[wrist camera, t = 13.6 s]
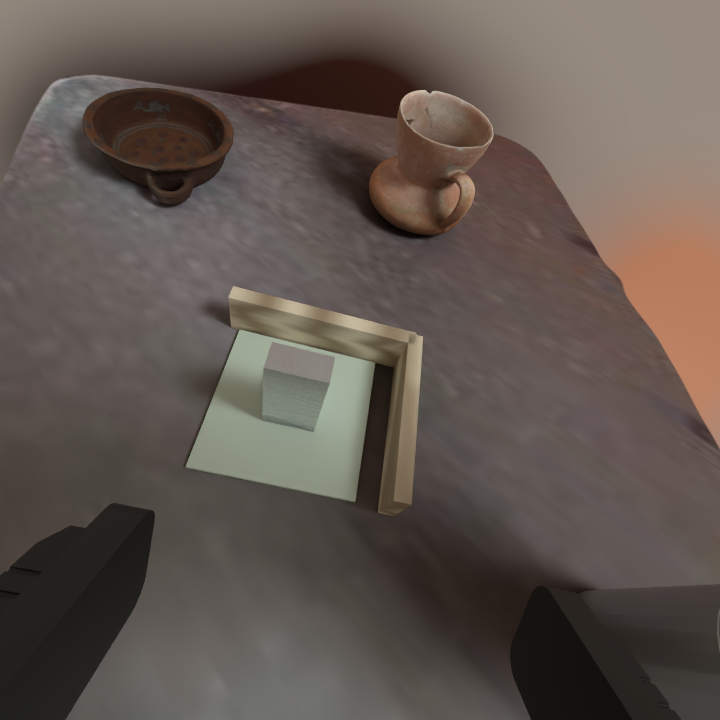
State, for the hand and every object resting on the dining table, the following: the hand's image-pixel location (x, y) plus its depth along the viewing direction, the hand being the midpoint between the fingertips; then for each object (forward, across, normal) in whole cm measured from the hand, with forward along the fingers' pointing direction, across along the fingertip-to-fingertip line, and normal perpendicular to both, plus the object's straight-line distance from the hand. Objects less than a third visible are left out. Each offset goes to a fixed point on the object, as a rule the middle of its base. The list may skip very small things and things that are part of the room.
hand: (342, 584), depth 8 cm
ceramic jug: (+56, -7, -16) cm, 59 cm away
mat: (+30, +3, +8) cm, 32 cm away
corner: (+31, +1, +8) cm, 32 cm away
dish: (+53, +28, -15) cm, 62 cm away
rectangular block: (+31, +3, +7) cm, 32 cm away
